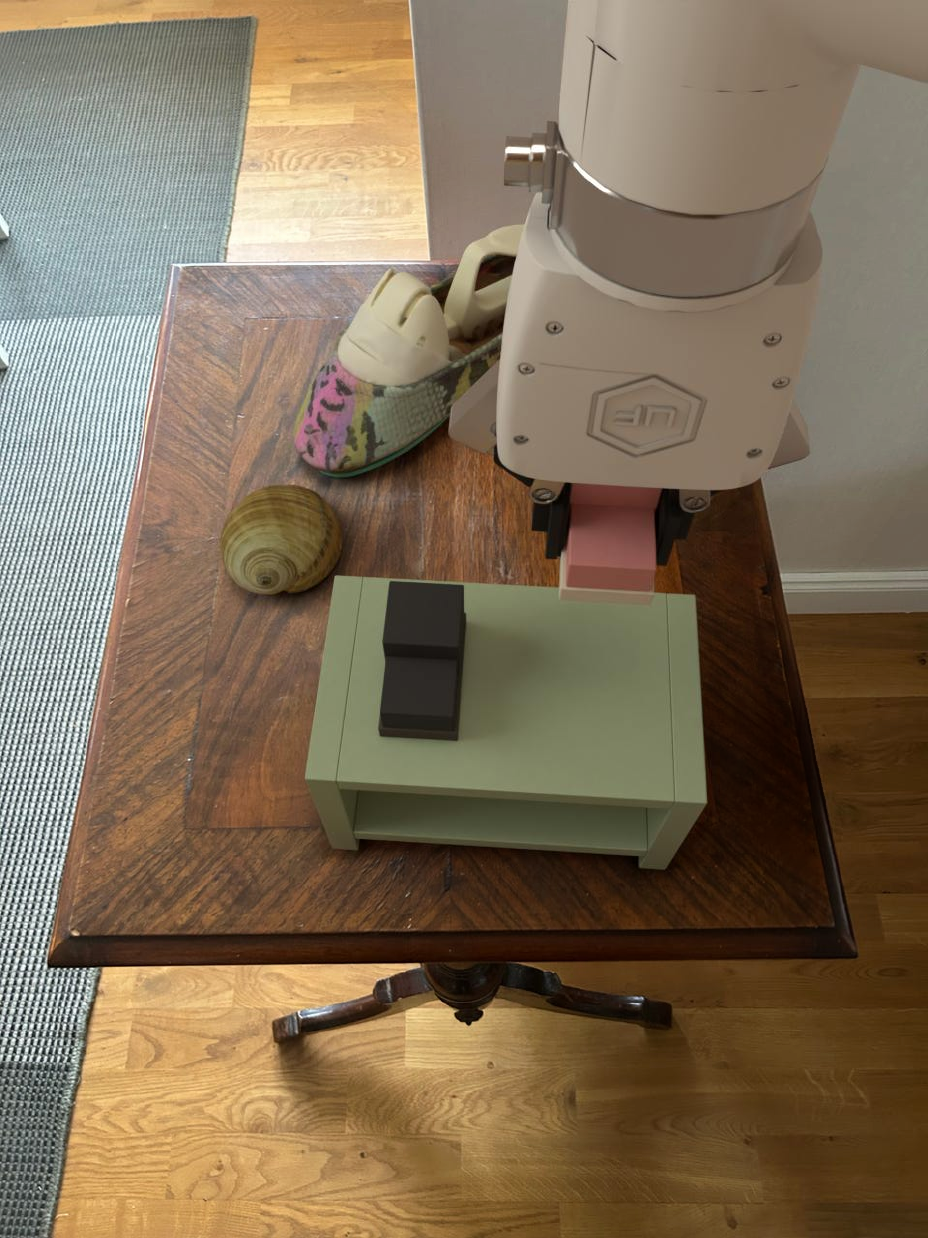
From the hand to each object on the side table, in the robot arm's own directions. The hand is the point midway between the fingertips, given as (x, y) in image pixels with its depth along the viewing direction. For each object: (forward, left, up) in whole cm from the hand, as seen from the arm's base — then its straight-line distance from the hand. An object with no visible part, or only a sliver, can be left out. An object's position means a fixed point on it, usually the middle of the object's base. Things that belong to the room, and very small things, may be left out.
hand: (605, 533), depth 45 cm
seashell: (+20, -12, -22) cm, 32 cm away
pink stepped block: (0, 0, 0) cm, 0 cm away
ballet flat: (+8, -30, -22) cm, 38 cm away
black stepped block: (+8, +3, -10) cm, 13 cm away
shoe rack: (+4, +3, -22) cm, 23 cm away
